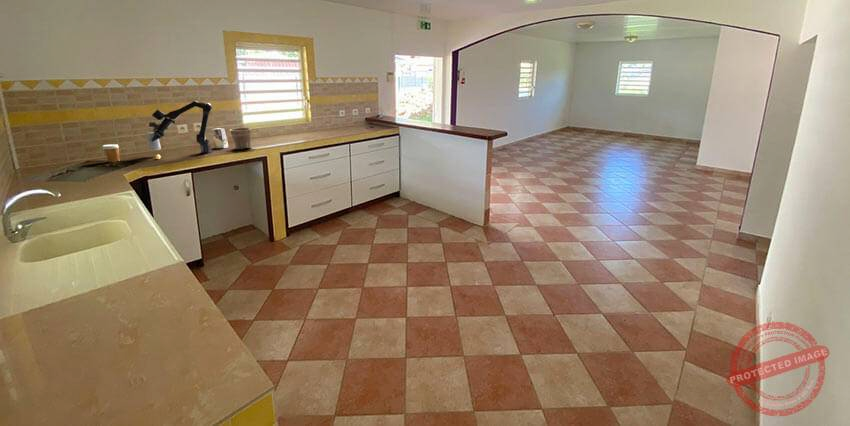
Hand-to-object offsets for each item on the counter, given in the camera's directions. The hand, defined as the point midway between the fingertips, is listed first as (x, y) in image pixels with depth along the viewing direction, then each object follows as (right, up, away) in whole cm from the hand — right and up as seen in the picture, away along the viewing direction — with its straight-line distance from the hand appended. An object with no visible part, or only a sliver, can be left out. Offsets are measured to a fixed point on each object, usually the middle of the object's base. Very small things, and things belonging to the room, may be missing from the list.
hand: (151, 140), depth 305 cm
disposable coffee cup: (-18, -18, -13) cm, 28 cm away
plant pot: (+53, 0, +37) cm, 65 cm away
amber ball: (+9, -15, -5) cm, 18 cm away
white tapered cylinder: (+1, -6, +3) cm, 7 cm away
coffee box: (+33, +1, +40) cm, 52 cm away
